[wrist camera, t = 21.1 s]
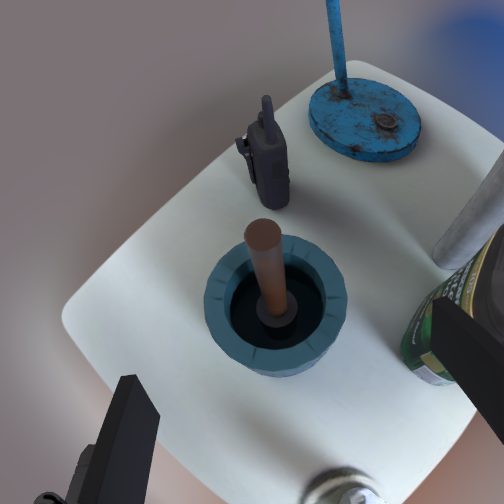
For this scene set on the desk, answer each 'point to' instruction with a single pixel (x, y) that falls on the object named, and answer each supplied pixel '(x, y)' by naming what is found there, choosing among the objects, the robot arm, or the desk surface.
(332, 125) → the desk lamp
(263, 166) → the two-way radio
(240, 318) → the teal pencil cup
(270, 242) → the rod with cylinder end
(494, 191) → the hip flask
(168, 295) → the desk surface
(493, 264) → the coffee jar
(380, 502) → the milkshake
